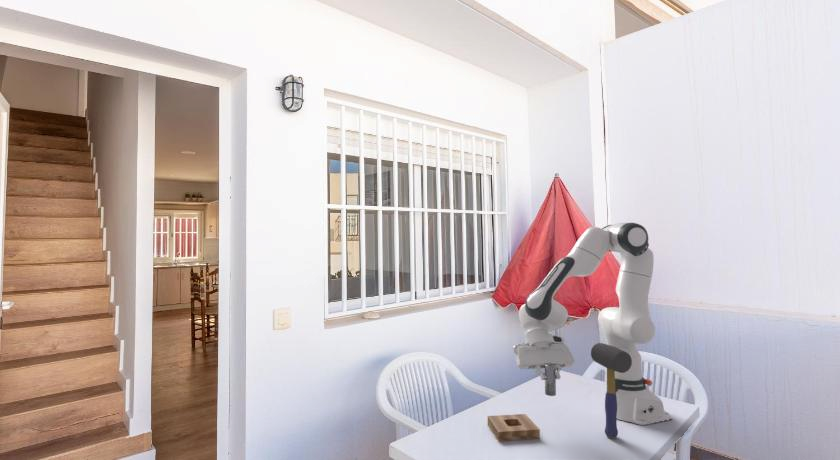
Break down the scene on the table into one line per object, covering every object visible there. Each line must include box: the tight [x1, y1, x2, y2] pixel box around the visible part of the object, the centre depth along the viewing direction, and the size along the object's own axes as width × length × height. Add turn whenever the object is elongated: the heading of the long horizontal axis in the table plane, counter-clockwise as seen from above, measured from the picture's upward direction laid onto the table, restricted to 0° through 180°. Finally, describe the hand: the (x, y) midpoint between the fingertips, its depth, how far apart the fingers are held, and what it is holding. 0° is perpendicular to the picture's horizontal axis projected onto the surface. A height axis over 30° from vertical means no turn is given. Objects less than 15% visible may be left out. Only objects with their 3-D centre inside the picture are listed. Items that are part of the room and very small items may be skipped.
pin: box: [544, 363, 557, 397], centre depth 141 cm, size 4×4×10 cm
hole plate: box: [487, 413, 541, 442], centre depth 139 cm, size 14×12×3 cm
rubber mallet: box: [590, 342, 632, 439], centre depth 135 cm, size 12×8×30 cm, turn 14°
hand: (551, 378), depth 140 cm, fingers closed on pin, 4 cm apart
